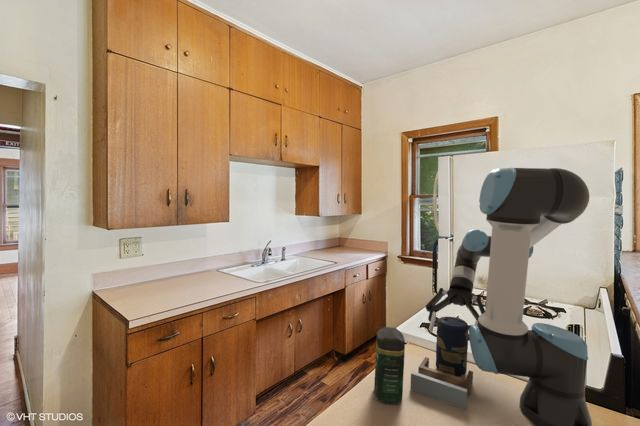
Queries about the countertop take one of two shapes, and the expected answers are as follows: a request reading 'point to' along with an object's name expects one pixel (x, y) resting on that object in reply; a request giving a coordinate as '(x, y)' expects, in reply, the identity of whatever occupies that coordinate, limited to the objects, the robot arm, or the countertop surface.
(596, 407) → the countertop surface
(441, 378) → the bracket
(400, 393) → the coffee jar
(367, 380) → the countertop surface
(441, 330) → the canister
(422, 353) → the countertop surface
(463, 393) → the backstop wall
